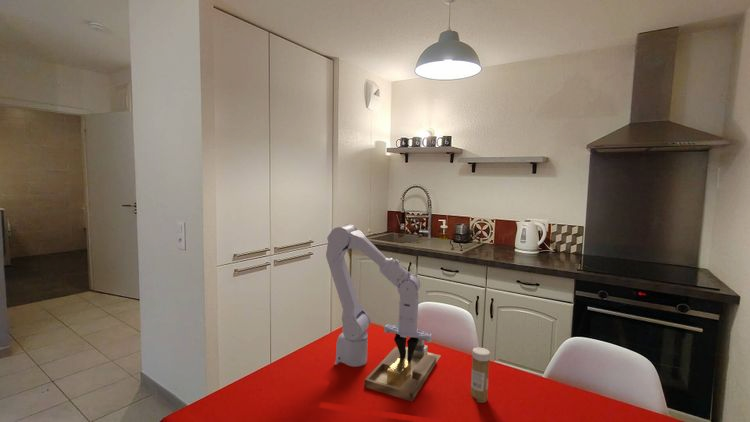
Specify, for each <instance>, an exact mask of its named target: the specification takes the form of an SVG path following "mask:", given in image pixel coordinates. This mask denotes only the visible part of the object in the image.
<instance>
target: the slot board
mask: <svg viewBox="0 0 750 422" xmlns="http://www.w3.org/2000/svg"><path fill="white" fill-rule="evenodd" d="M407 351H408V346H406V354H405V358H404V360H408V356H407ZM441 356H442V355H440V354H436V353H433V352H428V351H427V354H425V355H424V356H423V358H422V359H418V358H414V357H412V360H411V375H410V376H409V377H408V379H407V380H406V381H405V382H404V383H403V384H402V386H401V387H400V388H399V387H396V386H393V385H389V384H387V370H388V369H389V368H390V366H391V365H392V364H394V363H395V362H396V361H397V359H398V358H400V353H399V350H398V347H397V346H394V348H393V349H392V350H391V351H390V352H389V353H388V354H387V355H386V356H385V357H384V359H382V361H381V362H379V364H378V365H376V367H375V368H374V369H373V370H372V371H371V372H370V373H369V375H367V376H366V378H364V387H365V388H367V389H371V390H374V391H377V392H381V393H383V394H387V395H391V396H393V397H398V398H400V399H402V400H407V401H410V402H413V401H414V400H415V398H416V396H417V395H418V393H419V391H420V390H421V388H422V387H423V385H424V383H425V382H426V381H427V379H428V377H429V375H430V373H431V372H432V371H433V369H434V367H435V366H436V364H437V363H438V360H439V359H440V358H441ZM400 359H401V358H400Z"/></svg>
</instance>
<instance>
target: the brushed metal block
mask: <svg viewBox="0 0 750 422" xmlns="http://www.w3.org/2000/svg"><path fill="white" fill-rule="evenodd" d="M428 347H429V346H428V345H426V344H425V341H424V340H419V341H418V343H417V345H416V348H415V350H414V353H413V357H414V358H418V359H422V358H423V356H424V355H425V354H427V352H428ZM407 356H408V351H407Z"/></svg>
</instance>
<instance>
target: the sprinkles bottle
mask: <svg viewBox="0 0 750 422" xmlns="http://www.w3.org/2000/svg"><path fill="white" fill-rule="evenodd" d="M471 355H472V356H471V357H472V363H471V364H472V366H471V376H470V377H471V382H470V386H471V387H470V395H471V397H472V398H474V399H476V403H480V404H482V403H483V404H485V403H486V402H487V401H488V389H489V388H488V387H489V368H490V367H489V366H490V360H491V352H490V350H488V349H487V348H483V347H474V348H472V353H471Z"/></svg>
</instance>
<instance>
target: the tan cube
mask: <svg viewBox="0 0 750 422" xmlns="http://www.w3.org/2000/svg"><path fill="white" fill-rule="evenodd" d="M394 364H395V365H399V366H403V367H406V372H405V381H406V380H407V379H408V377H409V376H410V375H411V361H408V360H404V359H400V358H398V359H397V361H396V362H395V363H394Z"/></svg>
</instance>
